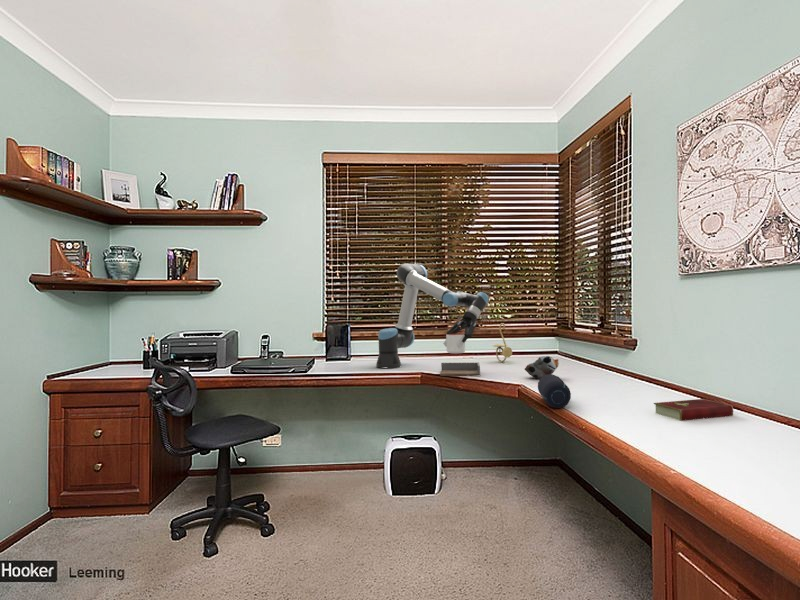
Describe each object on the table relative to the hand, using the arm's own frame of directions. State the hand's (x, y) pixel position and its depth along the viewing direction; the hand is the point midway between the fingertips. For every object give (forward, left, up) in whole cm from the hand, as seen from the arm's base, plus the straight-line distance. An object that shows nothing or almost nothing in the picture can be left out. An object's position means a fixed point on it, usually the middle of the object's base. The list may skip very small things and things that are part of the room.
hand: (451, 345), depth 272 cm
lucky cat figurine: (+10, +46, -16) cm, 49 cm away
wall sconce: (-53, +30, -16) cm, 63 cm away
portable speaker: (+72, +41, -16) cm, 85 cm away
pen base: (-4, +4, -16) cm, 17 cm away
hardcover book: (+90, +84, -16) cm, 124 cm away
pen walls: (-4, +4, -15) cm, 16 cm away
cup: (-2, +2, -4) cm, 5 cm away
